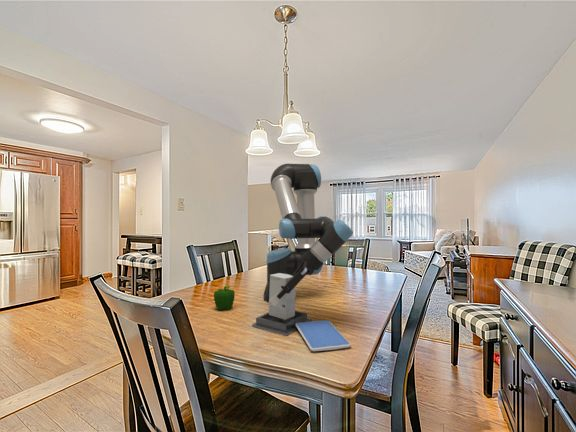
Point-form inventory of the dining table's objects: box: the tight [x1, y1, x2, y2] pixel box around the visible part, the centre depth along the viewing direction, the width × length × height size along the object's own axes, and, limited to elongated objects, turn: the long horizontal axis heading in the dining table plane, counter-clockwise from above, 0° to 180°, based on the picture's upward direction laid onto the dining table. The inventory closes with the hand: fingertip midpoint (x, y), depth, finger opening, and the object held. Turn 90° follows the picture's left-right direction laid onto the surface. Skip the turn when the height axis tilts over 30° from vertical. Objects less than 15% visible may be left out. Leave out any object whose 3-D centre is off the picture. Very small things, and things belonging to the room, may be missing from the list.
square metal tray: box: [251, 310, 312, 337], centre depth 107 cm, size 15×16×3 cm
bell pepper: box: [213, 285, 236, 311], centre depth 125 cm, size 8×8×10 cm
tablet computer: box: [295, 319, 352, 352], centre depth 94 cm, size 19×13×1 cm, turn 13°
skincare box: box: [268, 273, 297, 320], centre depth 107 cm, size 8×6×15 cm
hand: (273, 299), depth 107 cm, fingers closed on skincare box, 9 cm apart
